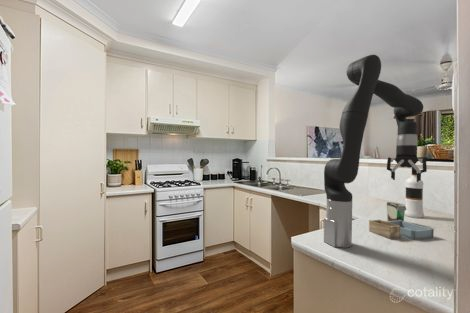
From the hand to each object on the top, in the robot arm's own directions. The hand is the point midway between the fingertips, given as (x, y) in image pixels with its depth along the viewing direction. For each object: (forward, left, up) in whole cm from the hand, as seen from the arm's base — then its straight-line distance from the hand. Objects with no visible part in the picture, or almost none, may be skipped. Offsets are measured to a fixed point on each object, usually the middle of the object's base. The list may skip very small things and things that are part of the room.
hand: (405, 180), depth 101 cm
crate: (+2, +1, -24) cm, 24 cm away
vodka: (+38, +23, -24) cm, 51 cm away
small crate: (-10, +2, -24) cm, 26 cm away
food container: (+14, +14, -24) cm, 31 cm away
